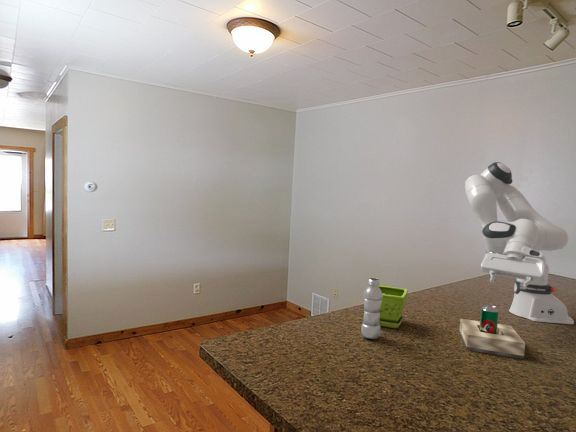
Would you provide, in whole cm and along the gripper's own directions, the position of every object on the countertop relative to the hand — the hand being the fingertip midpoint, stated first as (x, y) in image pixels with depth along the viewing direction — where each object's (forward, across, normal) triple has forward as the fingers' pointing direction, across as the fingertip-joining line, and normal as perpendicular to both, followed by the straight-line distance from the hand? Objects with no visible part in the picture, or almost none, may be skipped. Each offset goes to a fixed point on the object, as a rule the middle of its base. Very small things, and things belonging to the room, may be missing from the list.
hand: (506, 285), depth 127 cm
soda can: (+22, -1, +3) cm, 22 cm away
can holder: (+22, -1, +4) cm, 22 cm away
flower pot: (+30, -33, -3) cm, 45 cm away
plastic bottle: (+42, -29, -15) cm, 53 cm away
